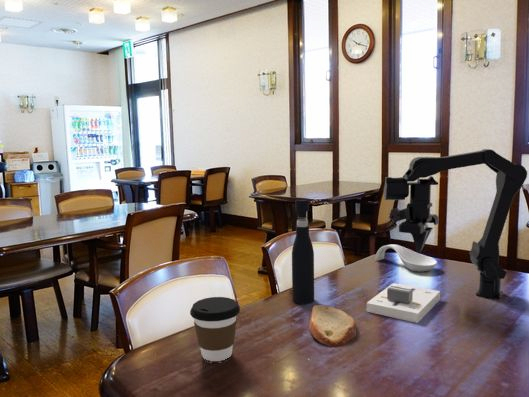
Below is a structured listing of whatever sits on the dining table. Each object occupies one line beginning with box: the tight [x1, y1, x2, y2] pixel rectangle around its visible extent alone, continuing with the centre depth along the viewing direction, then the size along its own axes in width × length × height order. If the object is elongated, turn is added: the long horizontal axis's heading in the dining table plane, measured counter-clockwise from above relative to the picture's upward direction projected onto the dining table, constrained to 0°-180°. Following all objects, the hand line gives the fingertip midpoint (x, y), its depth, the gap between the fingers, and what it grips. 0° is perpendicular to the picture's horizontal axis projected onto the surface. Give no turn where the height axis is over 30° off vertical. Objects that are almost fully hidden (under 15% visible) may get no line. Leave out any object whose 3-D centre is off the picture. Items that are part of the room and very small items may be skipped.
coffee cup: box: [189, 296, 241, 361], centre depth 101 cm, size 11×11×12 cm
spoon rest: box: [374, 243, 438, 273], centre depth 167 cm, size 24×12×7 cm, turn 39°
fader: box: [387, 286, 413, 304], centre depth 125 cm, size 3×6×3 cm, turn 54°
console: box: [365, 282, 441, 324], centre depth 129 cm, size 20×14×3 cm
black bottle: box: [291, 198, 315, 305], centre depth 133 cm, size 6×6×30 cm
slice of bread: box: [308, 304, 357, 348], centre depth 116 cm, size 18×18×4 cm
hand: (418, 251), depth 137 cm, fingers closed
